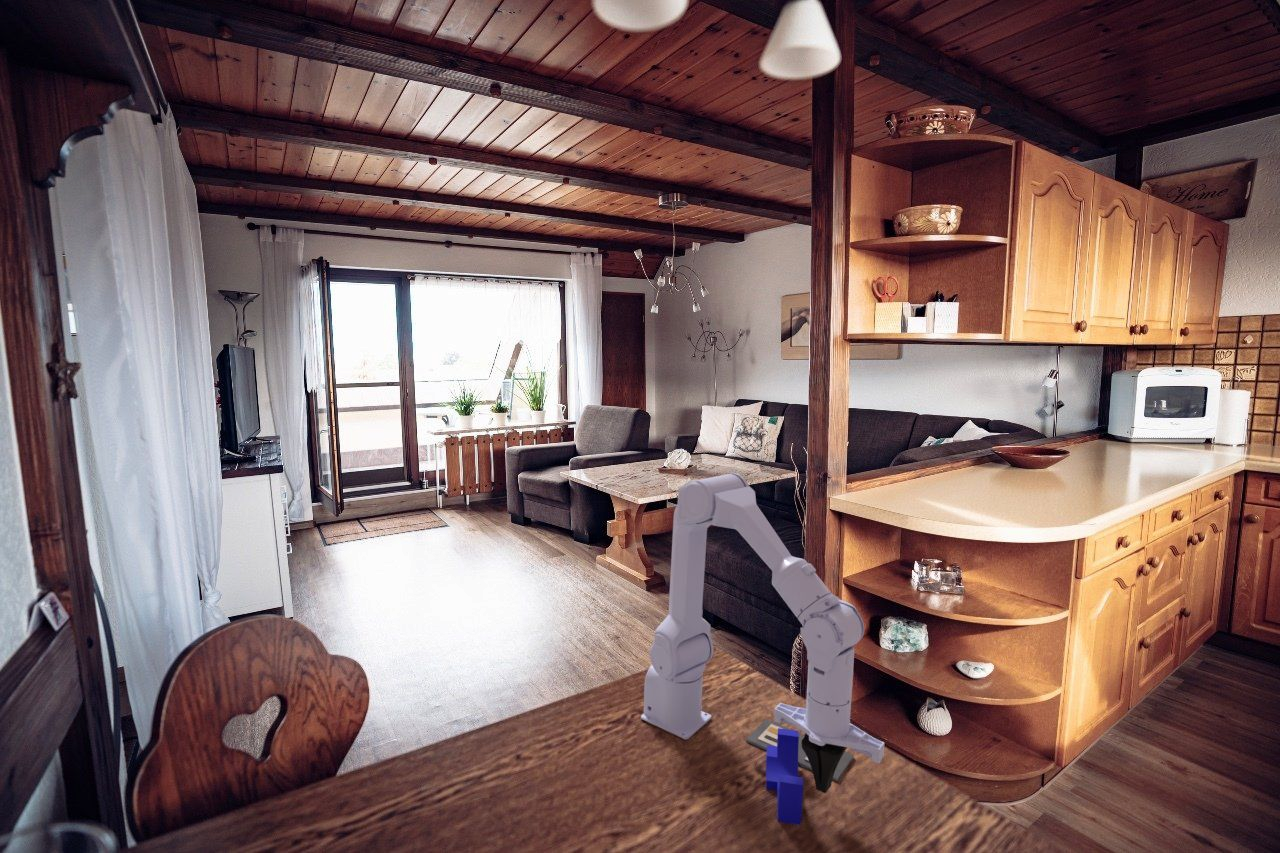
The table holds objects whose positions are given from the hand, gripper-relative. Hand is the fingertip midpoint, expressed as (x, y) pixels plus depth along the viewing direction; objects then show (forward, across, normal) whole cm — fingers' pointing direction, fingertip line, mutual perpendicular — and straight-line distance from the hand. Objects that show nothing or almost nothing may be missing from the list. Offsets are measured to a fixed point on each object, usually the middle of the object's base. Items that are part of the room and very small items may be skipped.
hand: (823, 787), depth 86 cm
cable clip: (+4, -6, +1) cm, 8 cm away
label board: (+4, -8, +11) cm, 14 cm away
